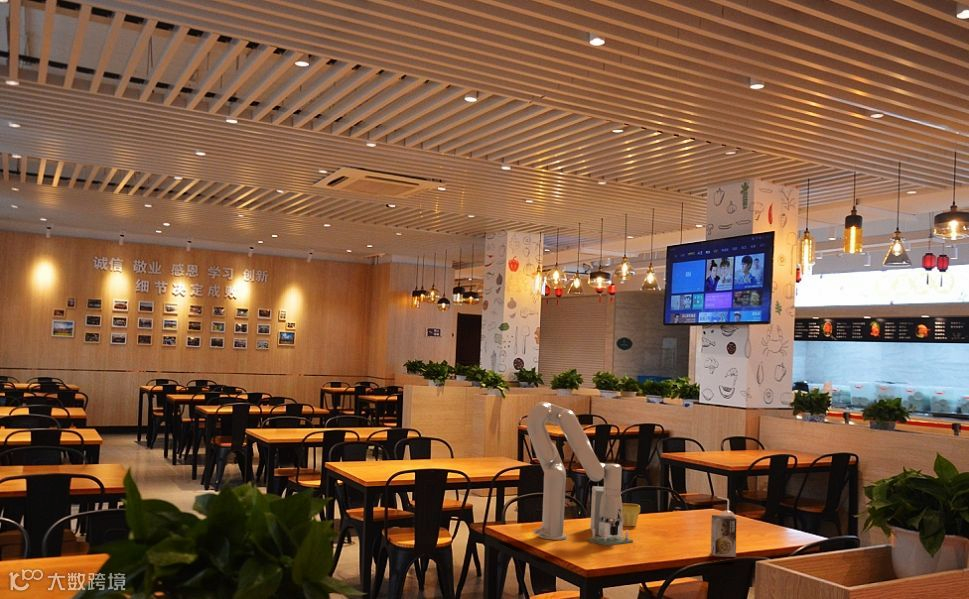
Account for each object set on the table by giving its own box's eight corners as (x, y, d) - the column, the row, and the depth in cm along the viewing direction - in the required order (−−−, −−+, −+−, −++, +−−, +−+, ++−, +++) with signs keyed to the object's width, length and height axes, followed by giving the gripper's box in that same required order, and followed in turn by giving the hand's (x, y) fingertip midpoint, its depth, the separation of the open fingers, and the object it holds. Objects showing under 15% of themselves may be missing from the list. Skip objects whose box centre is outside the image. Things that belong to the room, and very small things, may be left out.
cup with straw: (733, 544, 384) (734, 499, 386) (713, 540, 389) (715, 496, 390) (738, 541, 391) (740, 497, 393) (719, 538, 396) (720, 494, 398)
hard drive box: (610, 536, 388) (612, 491, 389) (593, 535, 388) (595, 490, 390) (606, 529, 404) (607, 486, 405) (589, 528, 404) (591, 485, 405)
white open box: (604, 537, 372) (604, 523, 373) (598, 535, 376) (599, 521, 376) (622, 535, 377) (622, 521, 378) (616, 533, 381) (617, 520, 381)
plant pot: (613, 524, 417) (614, 503, 417) (628, 522, 423) (629, 502, 423) (629, 528, 408) (629, 507, 409) (644, 526, 414) (644, 506, 415)
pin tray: (604, 545, 367) (605, 534, 367) (587, 540, 376) (587, 528, 376) (632, 542, 377) (633, 530, 377) (615, 537, 386) (615, 526, 386)
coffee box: (731, 553, 364) (732, 515, 366) (736, 557, 358) (737, 518, 359) (710, 552, 364) (711, 514, 365) (714, 556, 358) (715, 517, 359)
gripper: (592, 489, 382) (591, 531, 381) (619, 495, 369) (618, 538, 368) (604, 488, 387) (603, 529, 386) (632, 494, 373) (630, 537, 372)
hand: (610, 533), depth 377 cm, fingers closed on white open box, 4 cm apart
